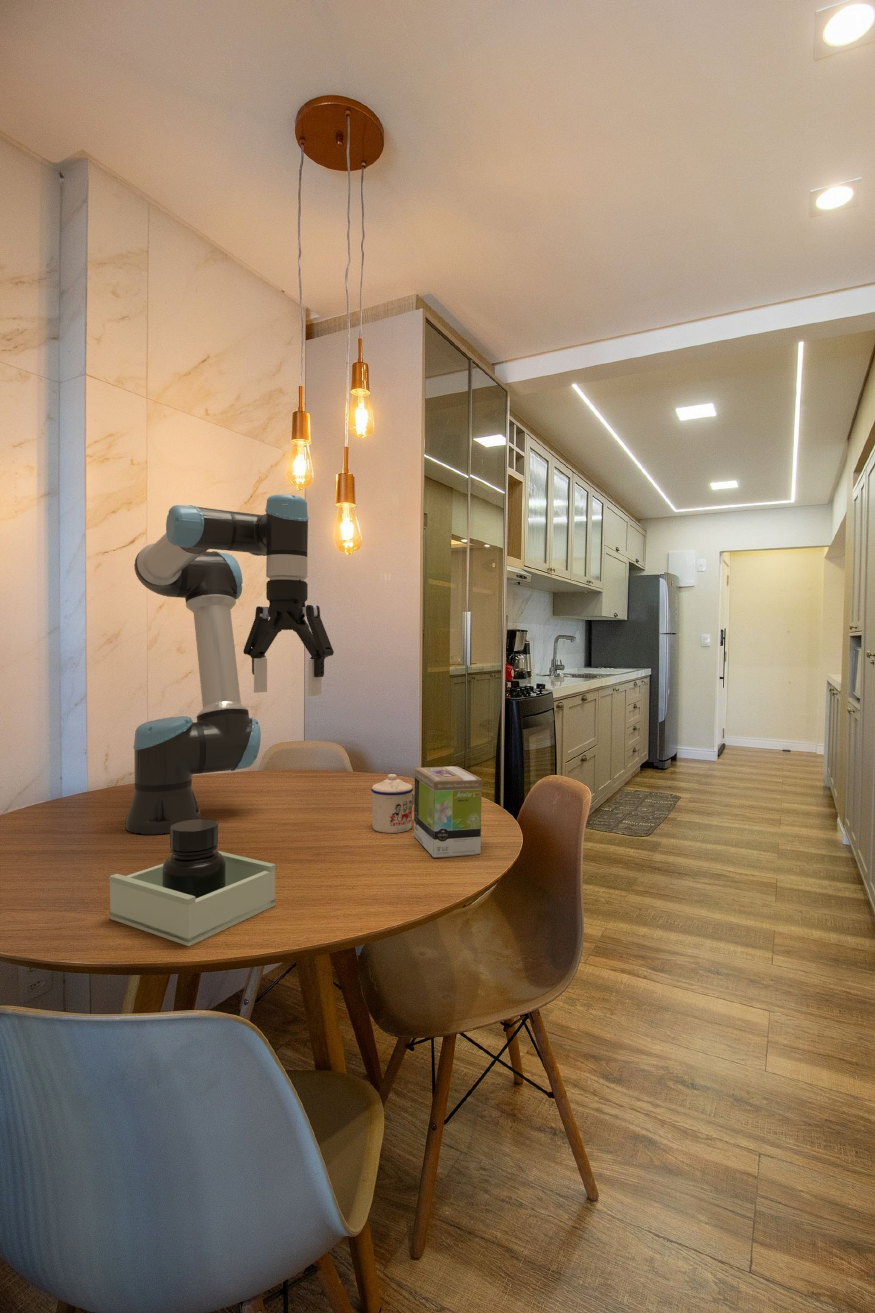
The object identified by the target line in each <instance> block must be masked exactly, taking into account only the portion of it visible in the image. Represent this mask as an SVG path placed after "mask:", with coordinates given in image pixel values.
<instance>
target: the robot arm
mask: <svg viewBox="0 0 875 1313" xmlns="http://www.w3.org/2000/svg"><path fill="white" fill-rule="evenodd" d="M264 510H265V513H264V514H258V513H256V514H255V513H248V512H240V511H231V510H224V509H217V508H209V507H202V506H196V505H189V504H188V505H182V504H180V505H179V504H175V505H172V506H171V507H170V509H169V510H168V513H167V517H166V521H165V522H166V523H165V527H166V528H165V531H166V532H165V534H163V535H162V536H161V537H160V538H159V539H158V540H157V541H156V542H154V543H150V544H148V545H146V546H144V547H143V548H142V549H141V550H140V551H139V552H138V553H137V555H136V557H135V558H134V559H135V560H134V565H133V566H134V572H135V575H136V577H137V580H138V581H139V582H140V583H141V584H142V585H143V586H144V587H145V588H146V589H148V590H149V591H151V592H153V593H155V594H157V595H159V596H163V597H169V598H180V599H181V598H182V599H185V607H186V608H187V609H188V610H190V611H191V612H192V613H193V620H194V622H193V623H194V632H195V641H196V651H197V652H196V653H197V661H198V663H197V664H198V672H199V682H200V693H201V702H202V703H201V705H202V709H201V710H200V711H199V712H198V713H197V715H196V722H193V719H192V718H191V717H190V716H189V715H188V716H184V715H183V716H181V715H180V716H170V717H163V718H157V719H153V720H149V721H146V722H144V723H141V724H140V725H138V726H137V728H136V729H135V733H134V743H133V749H134V794H133V797H132V799H131V802H130V805H129V809H128V812H127V815H126V817H125V830H126V829H127V830H128V831H127V830H126V831H127V832H129V831H130V832H129V833H132V832H134V833H133V834H136V833H141V834H140V835H162V834H163V835H165V834H170V827H171V825H173V824H175V823H178V822H181V821H187V820H196V819H201V810H200V808H199V806H198V803H197V802H198V801H197V798H196V796H195V793H194V790H193V776H194V775H200V774H209V773H219V772H226V771H227V772H228V771H231V772H235V771H237V770H243V769H247V768H250V767H252V765H254V763H255V762H256V761H257V758H258V755H259V751H260V747H261V736H262V735H261V734H262V733H261V727H260V725H259V721H258V720H257V719H256V718H254V717H250V714H249V713H250V712H249V709H248V708H247V707H246V706H244V705H243V704H242V703H241V702H242V700H241V693H240V683H239V675H238V674H239V673H238V666H237V657H236V647H235V640H234V632H233V630H234V629H233V621H232V613H231V610H232V609H233V608H234V607H235V606H236V603H237V600H238V599H239V598H240V597H241V595H242V592H243V585H242V584H244V582H243V581H244V580H243V574H242V570H241V566H240V564H239V562H238V561H237V558H235V557H234V556H233V555H232V554H230V553H225V552H219V551H228V552H229V551H230V552H238V553H239V552H240V553H249V554H250V555H252V556H260V557H261V556H263V557H266V567H265V569H266V570H265V572H266V574H265V575H266V576H265V577H266V578H267V579H269V580H267V582H266V585H265V586H266V588H265V589H266V590H265V591H266V593H265V594H266V595H265V596H266V600H267V601H268V602H269V603H268V604H269V606H256V608H255V612H254V613H255V616H254V620H253V622H252V625H251V627H250V628H251V629H250V631H249V634H248V637H247V640H246V643H245V646H244V647H243V654H244V655H247V656H249V657H250V658H251V673H252V675H253V693H254V694H255V693H256V694H257V693H267V692H268V658H267V656H266V655H265V654H266V653H267V652H268V650H269V649H270V647H271V645H272V644H273V642H274V640H275V639H276V637H277V636H278V634H279V633H281V632H282V631H293V632H295V633H296V634H297V636H298V637H299V639H300V641H301V643H302V644H303V646H304V647H305V649H306V650H307V651H308V654H309V655H310V658H309V659H308V660H307V661H308V664H307V666H308V667H307V668H308V675H307V676H308V680H307V682H308V686H307V687H308V690H307V692H308V693H307V694H308V696H309V697H314V696H322V678H324V676H325V660H326V658H329V657H332V656H333V655H334V654H335V653H334V649H333V646H332V643H331V642H330V639H329V637H328V634H327V630H326V628H325V626H324V623H323V620H322V618H321V609H320V605H315V604H307V605H306V602H307V601H308V594H309V592H308V590H309V589H308V585H309V584H308V583H307V581H306V579H307V578H308V545H309V544H308V541H309V539H308V538H309V533H308V532H309V515H308V501H306V499H305V498H303V497H301V496H298V495H293V494H274V495H270V496H268V498H267V500H266V507H265V509H264ZM208 550H213V551H208ZM216 550H218V551H216ZM305 617H306V619H305ZM306 620H307V621H306ZM164 833H165V834H164Z"/></svg>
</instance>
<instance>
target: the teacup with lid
mask: <svg viewBox="0 0 875 1313" xmlns="http://www.w3.org/2000/svg"><path fill="white" fill-rule="evenodd" d="M414 793H415V791H414V787H413V785H412V784H411V783H407V782H404V781H403V780H401V779H399V778H398V776H397V774H394V773H393V774H392V773H390V774H388V775H387V778H386V779H384V780H382V781H380V782H377V783H375V784H373V785H372V787H371V794H372V796H371V797H372V798H371V799H372V801H371V804H372V808H371V809H372V810H371V813H372V814H371V815H372V818H371V820H372V821H371V822H372V823H371V824H372V825H371V826H372V830H374V831H376V832H378V833H385V834H397V833H398V834H399V833H404V832H407V831H409V830H410V829H412V828H413V809H414Z"/></svg>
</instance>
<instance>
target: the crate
mask: <svg viewBox="0 0 875 1313" xmlns="http://www.w3.org/2000/svg"><path fill="white" fill-rule="evenodd" d="M217 851H218V852H219V853H220V854H222V855H223V856H224V858H225V869H226V887H224V888H221V889H219V890H216V891H214V892H211V893H209V894H207V895H204V896H202V897H199V898H197V899H195V896H192V895H188V894H185V893H182V892H178V891H175V890H171V889H168V888H165V887H162V874H163V864H164V863H161V864H158V865H155V866H152V867H149V868H146V869H143V870H140V871H137V872H133V873H131V874H127V875H123V874H120V873H114V874H112V875H109V876H108V877H109V878H108V880H109V918H110V919H109V920H112V921H115V922H119V923H121V924H124V925H127V926H129V927H133V928H135V929H139V930H141V931H143V932H147V933H150V934H151V935H155V936H158V937H162V938H164V939H167V940H169V941H172V942H175V943H178V944H181V945H183V946H186V947H191V946H193V945H196V944H197V943H199V942H201V941H203V940H205V939H208V938H210V937H213V936H215V935H216V934H218V933H220V932H222V931H224V930H226V929H228V928H230V927H233V926H235V925H237V924H239V923H241V922H243V921H245V920H247V919H250V918H252V917H254V916H255V915H258V914H260V913H263V912H264V911H266V910H269V909H271V908H272V907H275V906H276V867H277V865H276V864H275V863H272V862H271V863H270V862H267V861H263V860H259V859H254V858H250V857H246V856H242V855H237V854H232V853H229V852H225V851H219V850H217Z"/></svg>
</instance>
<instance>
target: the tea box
mask: <svg viewBox="0 0 875 1313" xmlns="http://www.w3.org/2000/svg"><path fill="white" fill-rule="evenodd" d="M482 784H483V780H482V778H480V777H479V776H477V775H475V774H473V773H471V772H470V771H467V770H466V769H463V768H462V767H459V766H457V765H456V766H434V767H431V766H430V767H429V766H428V767H427V766H426V767H415V768H414V806H413V810H414V812H413V836H414V838H415V839H416V840H417V841H418V842H419V843H420V844H421V846H423V848H425V850H426V851H427V852H428V853H429V854H430V856H432V858H449V857H450V858H451V857H462V856H474V855H480V854H481V848H482V847H481V846H482V834H481V833H482V808H483V806H482V794H483V785H482Z"/></svg>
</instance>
